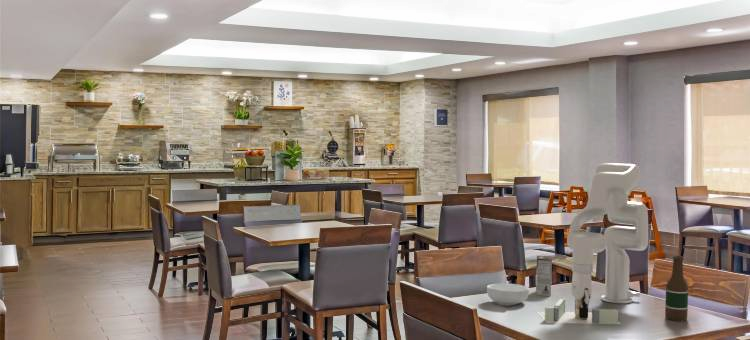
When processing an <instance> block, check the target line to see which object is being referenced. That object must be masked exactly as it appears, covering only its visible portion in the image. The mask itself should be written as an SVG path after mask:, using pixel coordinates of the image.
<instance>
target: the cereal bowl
mask: <svg viewBox="0 0 750 340" xmlns="http://www.w3.org/2000/svg"><path fill="white" fill-rule="evenodd" d="M486 293H487V296H488V297H489V299H490V300H492V301H493V302H495V303H496V304H497V305H500V306H504V307H505V306H507V307H512V306H515V305H518V304H521V303H523V302H525V301H526V300H527V299H528V297H529V293H530V288H529V287H527V286H526V285H522V284H517V283H516V284H515V283H493V284H488V285H487V286H486Z"/></svg>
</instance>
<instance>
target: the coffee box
mask: <svg viewBox="0 0 750 340" xmlns="http://www.w3.org/2000/svg"><path fill="white" fill-rule="evenodd" d="M552 262H553V259H552V255H549V256H548V255H536V271H535V273H536V274H535V275H536V276H535V278H536V279H535V286H536V287H535V293H536V296H543V297H545V296H546V297H552V293H551V292H552V274H553V273H552V271H553V268H552V267H553V265H552Z"/></svg>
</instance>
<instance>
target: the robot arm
mask: <svg viewBox="0 0 750 340" xmlns="http://www.w3.org/2000/svg"><path fill="white" fill-rule="evenodd" d="M640 179H641V170H640V167H639V166H638V165H636V164H633V163H616V162H615V163H613V162H612V163H611V162H605V163H600V164H598V165H597V166H596V167H595V174H594V176H593V177H592V180H591V181H592V182H591V185H590V189H589V190H590V191H589V195H588V200H587V203H586V206H585V207H584V208H583V209H581V210H580V211H579V212H578V213H577V214H576V215H575V216H574V217H573V218H572V220H571V223H570V225H569V230H568V233H567V241H566V242H567V246H568V248H569V249H570V250H572V258H571V259H572V260H571V261H572V265H571V272H572V279H571V290H570V292H571V295H572V297H574V298H575V299H574V303H575V304H574V305H575V306H574V309H575V308H576V298H577V299H578V300H580V307H579V318H588V312H589V303H590V300H591V298H592V286H593V285H592V273H593V272H594V253H595V254H597V253H602V252H603V251H604V250H605V277H604V278H605V279H604V280H605V283H604V294H602V295H601V296H600V300H601V301H603V302H607V303H610V304H611V303H612V304H631V303H632V302H633V297H634V298H636V297H637V298H640V297H641V292H639V291H637V292H636V291H632V290H630V264H631V263H630V262H631V260H630V257H629V255H628V254H627V251H626V250H629V251H645V250H646V249H647V248H648V245H649V213H648V208H647V206H646V204H645V203H643V202H641V201H640V202H639V201H638V202H637V201H629V193H630V192H631V191H632V190H633V189H634V188H635V187H636V186H637V185H638V183H639V181H640ZM606 215H607V219H608V221H609V222H610V223H612V224H620V225H611V226H608V227H606V228H605V230H604V233H603V234H602V233H601V232H592V231H591V232H590V231H581V228H582V226H583V225H584V224H586V223H587V222H589V221H591V220H593V219H597V218H600V217H603V216H606ZM624 225H629V226H624ZM630 225H632V226H630ZM582 297H585V299H582ZM582 301H583V303H582Z"/></svg>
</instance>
